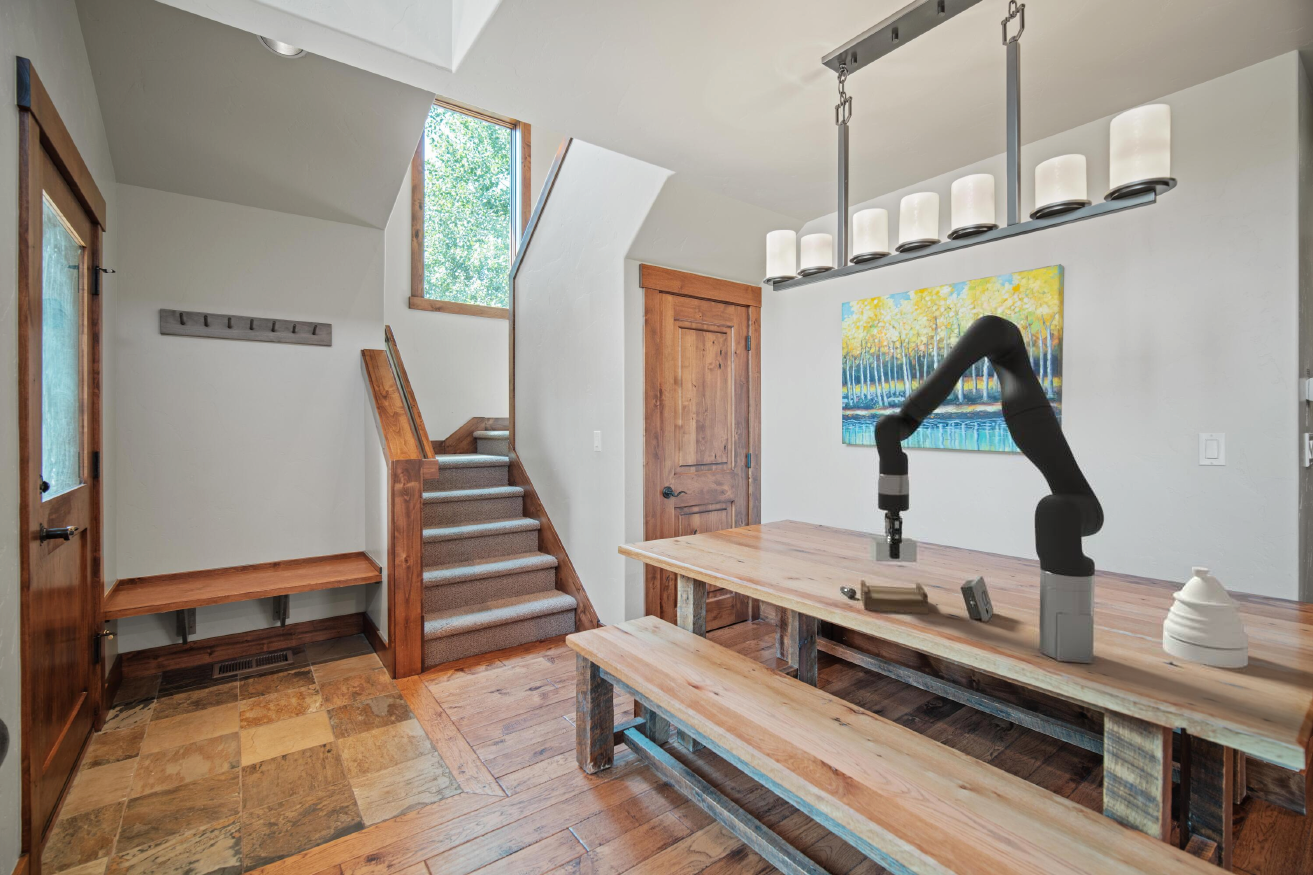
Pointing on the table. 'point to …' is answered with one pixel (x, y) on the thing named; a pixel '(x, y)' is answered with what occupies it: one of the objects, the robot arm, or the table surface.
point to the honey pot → (1205, 624)
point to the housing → (882, 550)
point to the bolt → (848, 592)
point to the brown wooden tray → (894, 598)
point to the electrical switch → (977, 599)
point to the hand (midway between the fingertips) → (893, 555)
